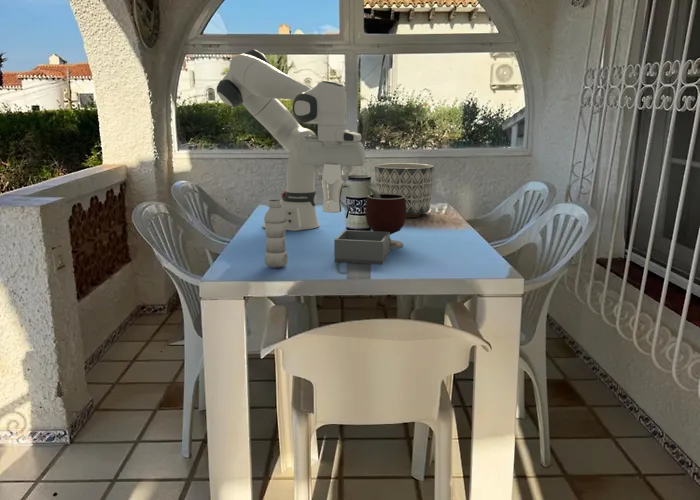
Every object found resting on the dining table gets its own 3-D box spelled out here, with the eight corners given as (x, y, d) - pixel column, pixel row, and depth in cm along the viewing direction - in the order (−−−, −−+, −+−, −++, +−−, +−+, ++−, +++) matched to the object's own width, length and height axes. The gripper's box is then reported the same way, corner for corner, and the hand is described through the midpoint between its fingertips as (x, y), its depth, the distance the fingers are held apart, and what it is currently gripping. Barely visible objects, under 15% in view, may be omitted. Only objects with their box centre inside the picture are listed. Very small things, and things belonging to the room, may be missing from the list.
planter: (433, 210, 271) (434, 163, 266) (430, 220, 246) (432, 168, 241) (377, 209, 276) (378, 162, 270) (370, 218, 251) (370, 167, 246)
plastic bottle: (265, 264, 175) (263, 198, 171) (288, 264, 176) (286, 198, 171) (264, 270, 169) (262, 202, 164) (287, 269, 170) (286, 201, 165)
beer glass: (340, 213, 180) (341, 165, 176) (318, 212, 181) (319, 163, 177) (344, 209, 186) (346, 162, 182) (323, 208, 188) (325, 161, 184)
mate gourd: (413, 245, 201) (415, 187, 197) (387, 251, 192) (388, 191, 187) (380, 238, 212) (381, 183, 207) (353, 244, 202) (353, 187, 198)
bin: (334, 261, 179) (334, 239, 177) (344, 250, 193) (344, 230, 191) (382, 264, 176) (383, 241, 174) (389, 252, 190) (389, 231, 188)
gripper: (296, 135, 177) (297, 180, 180) (362, 135, 173) (362, 182, 176) (302, 134, 183) (303, 178, 186) (366, 135, 179) (366, 179, 182)
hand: (332, 180), depth 181 cm, fingers closed on beer glass, 7 cm apart
